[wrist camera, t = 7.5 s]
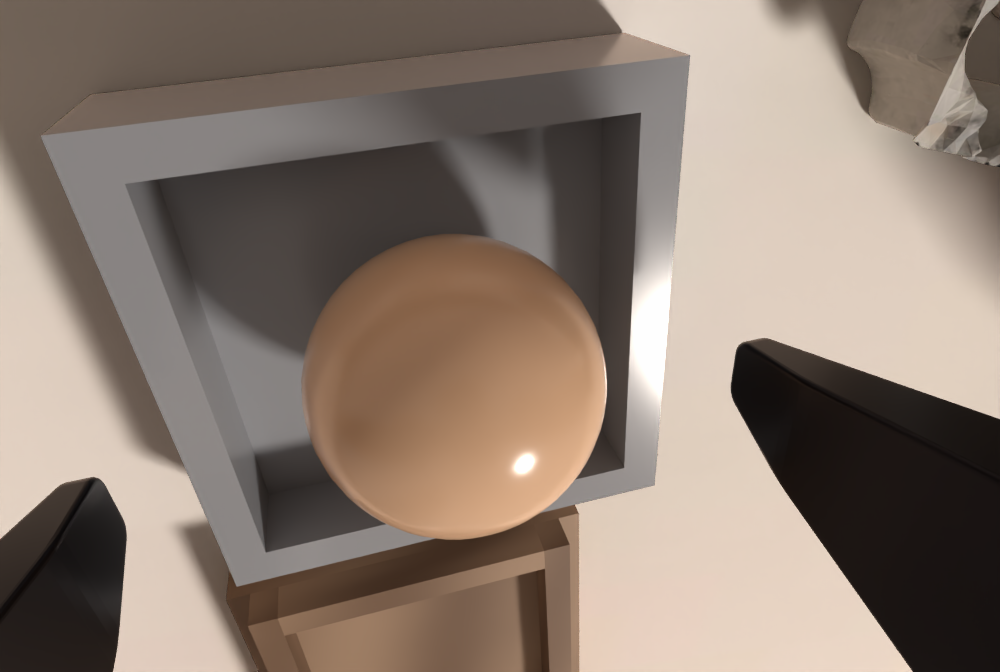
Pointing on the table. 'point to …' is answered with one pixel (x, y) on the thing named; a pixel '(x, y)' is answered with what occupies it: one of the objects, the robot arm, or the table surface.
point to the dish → (370, 246)
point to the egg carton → (929, 74)
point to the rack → (426, 606)
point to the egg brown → (454, 386)
